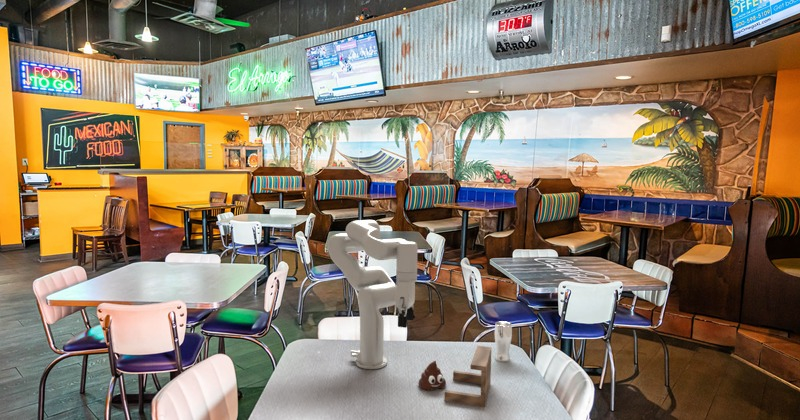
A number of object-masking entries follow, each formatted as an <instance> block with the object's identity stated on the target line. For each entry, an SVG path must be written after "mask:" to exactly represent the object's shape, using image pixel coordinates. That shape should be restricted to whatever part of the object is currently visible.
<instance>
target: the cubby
mask: <svg viewBox="0 0 800 420" xmlns="http://www.w3.org/2000/svg"><path fill="white" fill-rule="evenodd" d="M470 370H475V371H480V373H475V372H467V371H460V370H453V372H452V375H453V376H452V380H453V381H458V382H466V383H470V384H479V385H480V394H474V393H467V392H462V391H454V390H449V389H448V390H447V389H445V390H444V394H443V395H444V396H443V398H444V401H446V402H450V403H456V404H462V405H463V404H464V405H470V406H477V407H482V408H486V406H487V405H486V404H487V399H488V397H489V396H488V395H489V393H490V392H489V391H490V387H491V379H492V378H491V375H492V347H490V346H482V345H477V346H476V349H475V351H474V354H473V356H472V360H471V363H470Z"/></svg>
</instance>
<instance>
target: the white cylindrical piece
mask: <svg viewBox="0 0 800 420" xmlns="http://www.w3.org/2000/svg"><path fill="white" fill-rule="evenodd" d="M512 334H513V327H512V323H511V322H508V321H503V320H501V321H495V325H494V343H495V356H494V359H495V360H496V361H498V362H503V363H507V362H509V361H511V359H510V358H511V357H510V348H511V343H512V336H513V335H512Z"/></svg>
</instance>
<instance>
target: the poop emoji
mask: <svg viewBox="0 0 800 420" xmlns="http://www.w3.org/2000/svg"><path fill="white" fill-rule="evenodd" d="M420 377H421V378H419V380H418V386H419V388H420V389H421V390H424V391H435V390H442V389H444V388H445V387H446V385H447V380H446V379H445V378H444V375H443V373H442V371H441V369H440V367H438V365H437V361H436V360H433V361H432V362H431V363H429V364H428V365H427V366H426V368H424V370H423V372H422V373H421V376H420Z"/></svg>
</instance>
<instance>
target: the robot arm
mask: <svg viewBox="0 0 800 420" xmlns="http://www.w3.org/2000/svg"><path fill="white" fill-rule="evenodd" d="M380 227H381V226H380V225H379V223H378V222H377V221H376V220H374V219H362V220H361V219H359V220H358V219H356V220H352V221H351V222H349V223H348V224H347V225H346V227H345V232H342V233H336V234H333V235H331V236H330V237H329V238H328V240H327V251H328V255H329V258H330V259H331V260H332V263H334V264H335V265H336V266H337V268H339V270H340V271H341V272H342V274H343V276H344V277H345V278H346V280H347V282H348V283H349V285H350V286H351V287H352V288H353V289H354V290H355V291H358V293H357V302H358V303H357V305H358V308H359V350H355V349H351V350H350V355H351V357H352V358H356V360H355V365H356V366H357V367H359V368H360V369H365V370H377V369H381V368H384V367H386V365H387V364H388V359H387V358H386V356H384V339H385V338H384V331H385V330H384V328H385V327H384V325H385V323H384V322H385V321H384V317H383V314H381V312H380V309H382V308H388V307H389V308H390V307H392V306H394V307H395V308H396V309H397V327H398V328H405V329H406V328H407V327H408V321H414V313H415V312H414V310H415V309H414V304H415V300H416V281H417V280H418V252H419V251H418V247H419V246H418V243H417V242H415V241H411V240H406V239H404V238H401V237H400V238H397V237H395V238H385V239H382V234H381V228H380ZM361 251H364V253H365V254H366V255H367V256H368V257H369V258H370V257H371V258H372V259H375V260H377V261H389V260H395V261H396V263H395V265H396V269H395V270H396V272H395V273H396V274H395V280H396V281H397V282H396V283H395V282H394V281H393V279H392V278H391V276H390V275H389V274H388V273H387V271H386V270H385V269H384V268H383V267H381V266H379V265H370V266H365V265H363V264H362V263H361V262H360V260H359V258H357V257H356V256H354V255H352V254H351V253H355V252H361Z"/></svg>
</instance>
